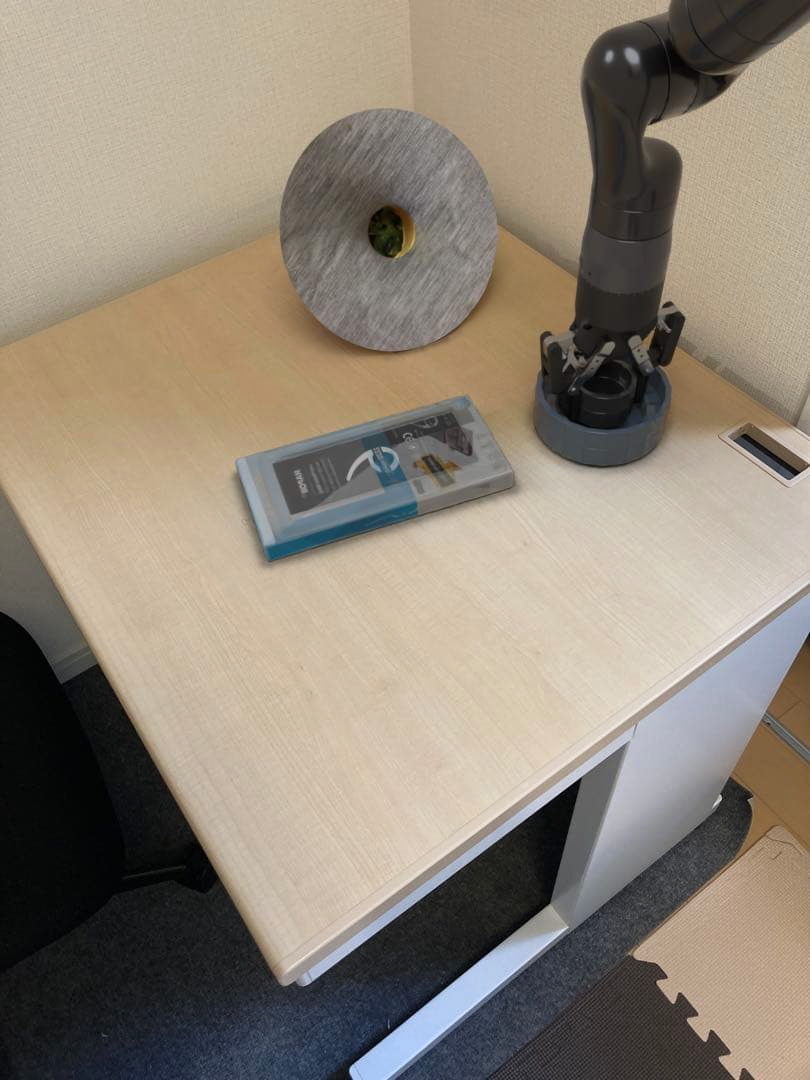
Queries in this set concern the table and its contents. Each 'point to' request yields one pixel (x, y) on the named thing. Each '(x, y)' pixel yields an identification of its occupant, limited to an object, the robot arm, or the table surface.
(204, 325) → the table surface
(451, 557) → the table surface
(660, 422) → the grey bowl
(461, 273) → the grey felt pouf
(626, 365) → the black cup
